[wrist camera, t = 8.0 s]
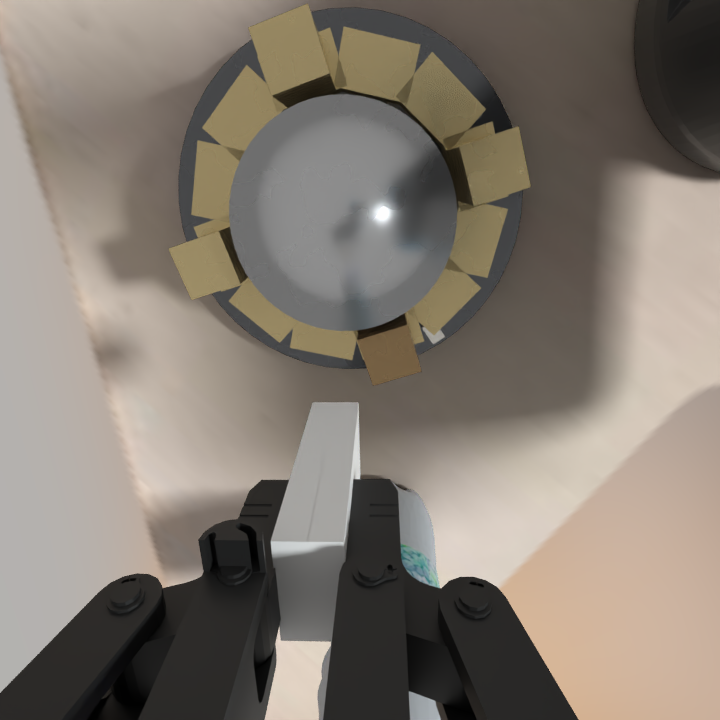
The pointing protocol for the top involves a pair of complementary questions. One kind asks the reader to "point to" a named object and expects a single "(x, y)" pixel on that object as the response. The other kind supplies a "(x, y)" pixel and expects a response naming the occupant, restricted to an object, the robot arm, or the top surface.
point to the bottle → (420, 566)
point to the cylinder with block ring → (376, 81)
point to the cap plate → (346, 199)
